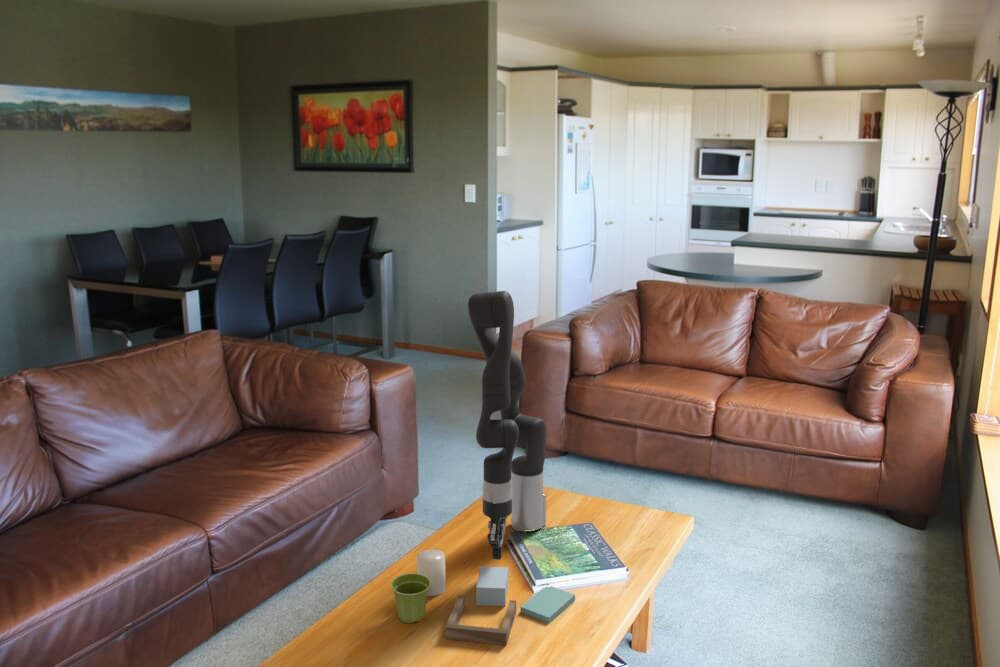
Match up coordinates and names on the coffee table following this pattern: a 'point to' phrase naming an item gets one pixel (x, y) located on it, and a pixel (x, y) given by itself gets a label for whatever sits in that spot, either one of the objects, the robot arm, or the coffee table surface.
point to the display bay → (478, 633)
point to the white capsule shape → (433, 570)
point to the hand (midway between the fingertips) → (497, 558)
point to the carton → (492, 586)
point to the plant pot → (411, 596)
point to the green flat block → (547, 604)
